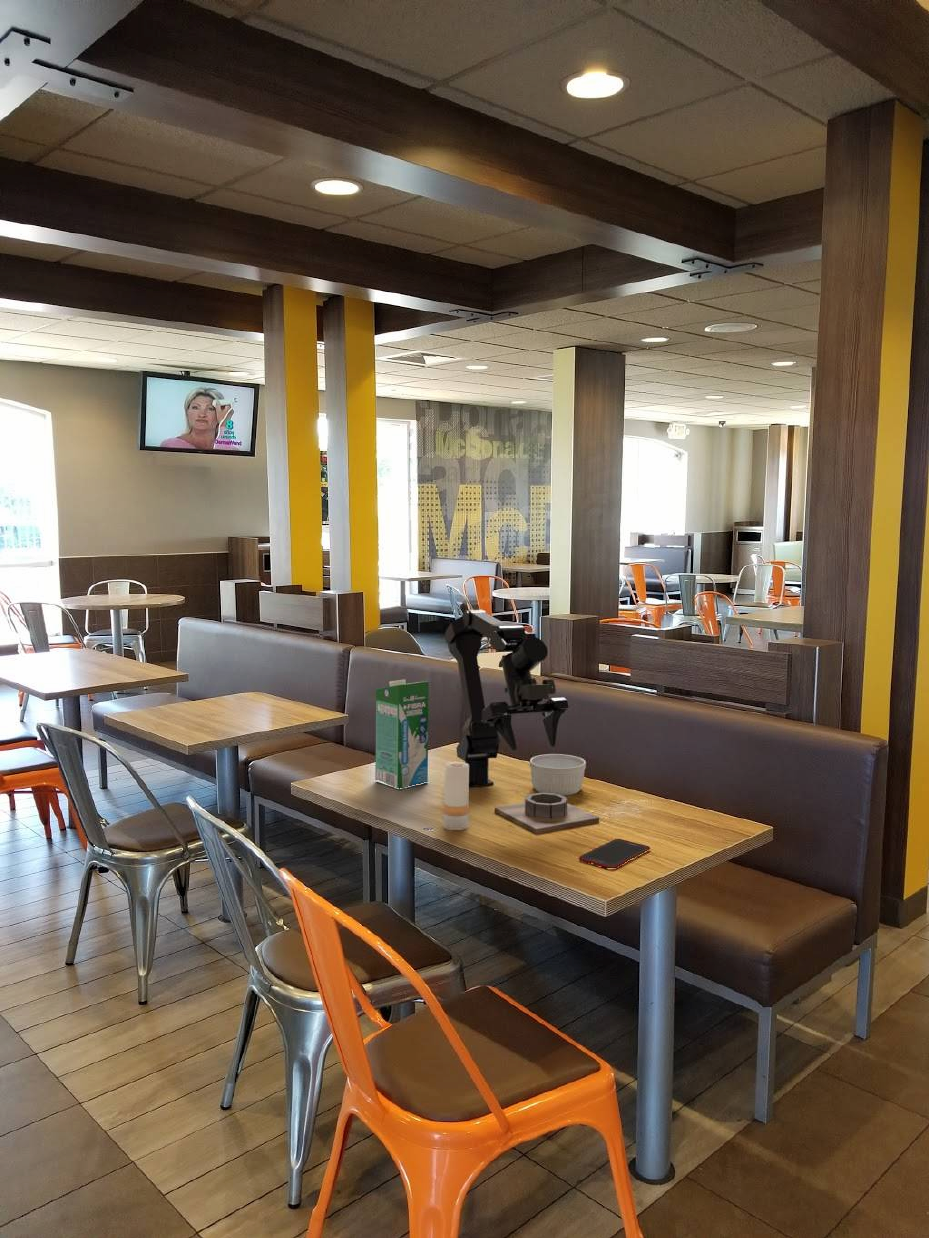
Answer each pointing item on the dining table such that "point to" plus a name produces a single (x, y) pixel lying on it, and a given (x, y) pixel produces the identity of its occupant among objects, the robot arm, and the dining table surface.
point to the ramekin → (557, 773)
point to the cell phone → (614, 853)
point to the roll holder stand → (546, 813)
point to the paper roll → (456, 795)
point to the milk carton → (402, 733)
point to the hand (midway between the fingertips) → (534, 748)
